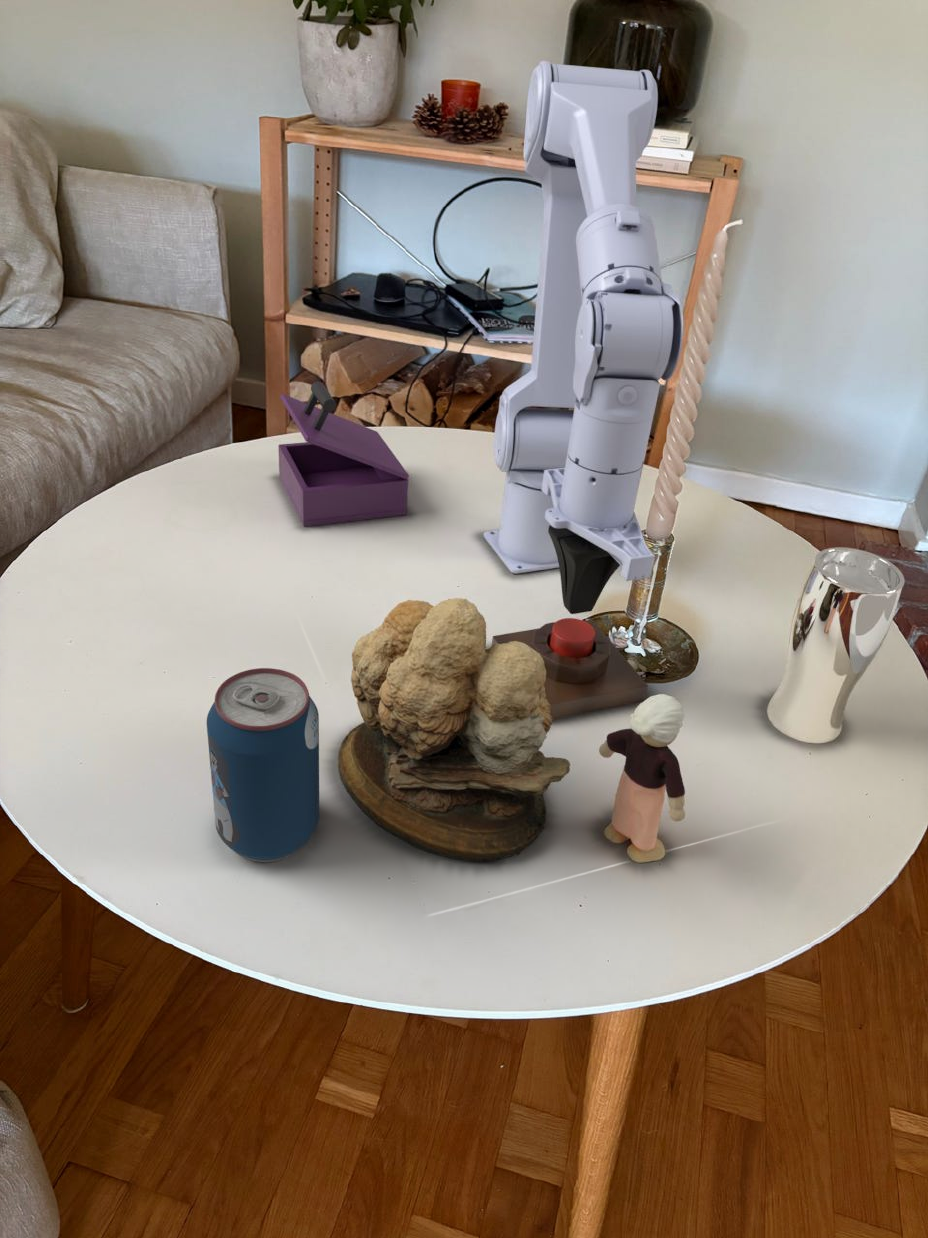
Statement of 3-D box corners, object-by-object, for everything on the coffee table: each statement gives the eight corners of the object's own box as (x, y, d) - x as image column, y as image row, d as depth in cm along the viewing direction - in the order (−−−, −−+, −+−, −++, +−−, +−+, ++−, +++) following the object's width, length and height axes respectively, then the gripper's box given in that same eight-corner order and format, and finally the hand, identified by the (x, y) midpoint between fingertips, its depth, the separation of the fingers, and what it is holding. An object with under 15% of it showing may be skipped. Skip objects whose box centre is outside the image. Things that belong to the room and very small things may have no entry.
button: (579, 631, 83) (583, 615, 82) (599, 655, 81) (603, 638, 80) (542, 637, 82) (545, 621, 81) (561, 662, 79) (564, 645, 78)
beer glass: (853, 714, 82) (914, 565, 73) (835, 760, 77) (899, 605, 68) (773, 683, 85) (824, 536, 76) (751, 726, 79) (802, 573, 71)
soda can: (336, 813, 68) (338, 680, 61) (287, 884, 62) (283, 747, 56) (251, 782, 69) (243, 650, 63) (196, 849, 64) (181, 712, 57)
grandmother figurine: (688, 851, 68) (731, 715, 60) (659, 882, 65) (701, 743, 58) (599, 794, 71) (630, 659, 64) (569, 821, 69) (597, 684, 62)
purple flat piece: (305, 441, 95) (323, 405, 93) (279, 397, 103) (296, 363, 102) (407, 479, 102) (425, 446, 100) (375, 435, 110) (391, 404, 109)
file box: (303, 526, 100) (302, 491, 98) (279, 478, 109) (278, 444, 106) (406, 515, 104) (408, 480, 102) (375, 468, 113) (376, 435, 110)
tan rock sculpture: (589, 802, 71) (632, 612, 61) (504, 904, 62) (537, 704, 53) (397, 700, 78) (407, 517, 69) (298, 780, 70) (293, 584, 60)
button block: (589, 634, 88) (595, 602, 87) (644, 701, 81) (652, 668, 79) (490, 651, 85) (494, 618, 83) (538, 722, 78) (543, 689, 76)
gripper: (516, 422, 75) (499, 568, 83) (604, 508, 64) (574, 668, 72) (595, 415, 78) (571, 558, 85) (693, 498, 67) (655, 653, 75)
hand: (578, 608), depth 79 cm, fingers closed
